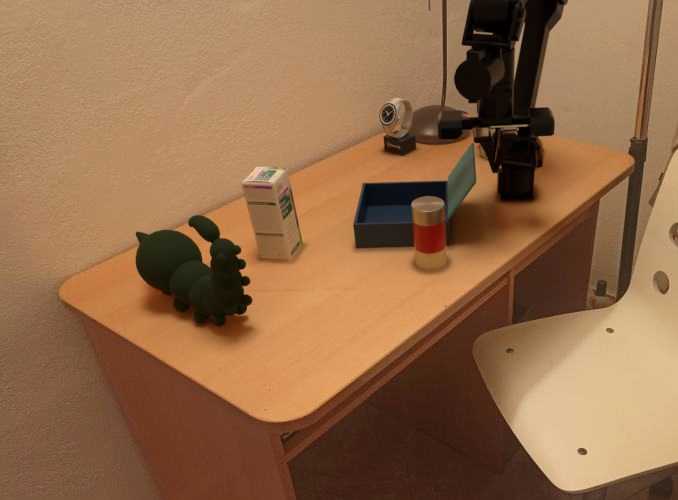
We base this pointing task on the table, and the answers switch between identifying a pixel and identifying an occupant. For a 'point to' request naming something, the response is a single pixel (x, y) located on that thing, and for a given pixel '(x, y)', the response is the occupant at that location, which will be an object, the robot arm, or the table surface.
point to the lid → (461, 180)
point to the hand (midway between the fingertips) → (494, 172)
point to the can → (429, 232)
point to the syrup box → (272, 212)
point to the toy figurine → (195, 271)
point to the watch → (389, 117)
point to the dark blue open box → (393, 212)
